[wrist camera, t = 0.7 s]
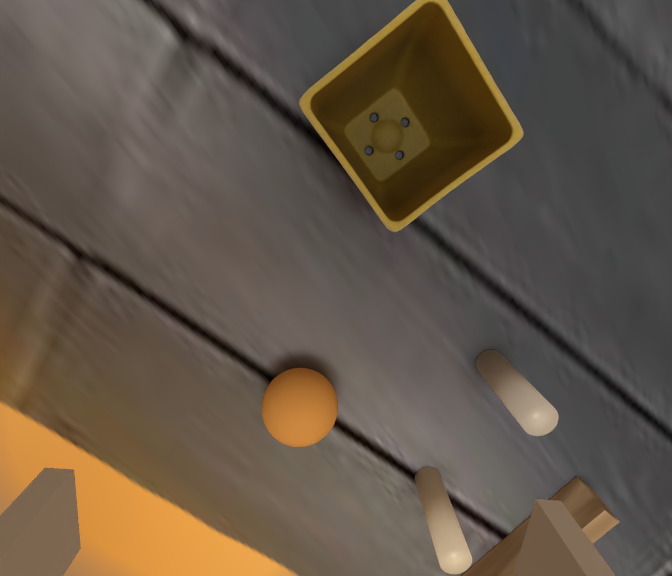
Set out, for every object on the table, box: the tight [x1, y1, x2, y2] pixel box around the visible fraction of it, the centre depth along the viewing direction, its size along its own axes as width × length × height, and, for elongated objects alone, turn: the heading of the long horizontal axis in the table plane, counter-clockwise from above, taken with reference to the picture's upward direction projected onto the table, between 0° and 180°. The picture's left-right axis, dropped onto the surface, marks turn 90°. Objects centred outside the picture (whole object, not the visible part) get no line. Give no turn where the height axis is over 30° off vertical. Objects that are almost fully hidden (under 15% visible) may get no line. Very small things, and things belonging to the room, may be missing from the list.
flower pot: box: [299, 0, 524, 232], centre depth 25 cm, size 9×9×9 cm
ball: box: [262, 368, 338, 447], centre depth 32 cm, size 6×6×6 cm
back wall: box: [462, 476, 619, 576], centre depth 38 cm, size 2×18×4 cm, turn 140°
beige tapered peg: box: [476, 350, 558, 436], centre depth 31 cm, size 2×2×8 cm
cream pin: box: [415, 467, 472, 574], centre depth 34 cm, size 2×2×8 cm
